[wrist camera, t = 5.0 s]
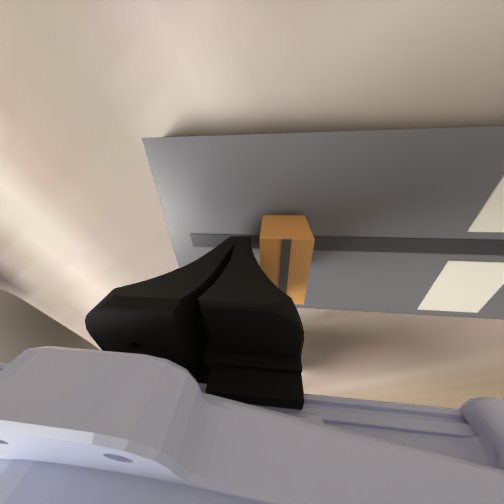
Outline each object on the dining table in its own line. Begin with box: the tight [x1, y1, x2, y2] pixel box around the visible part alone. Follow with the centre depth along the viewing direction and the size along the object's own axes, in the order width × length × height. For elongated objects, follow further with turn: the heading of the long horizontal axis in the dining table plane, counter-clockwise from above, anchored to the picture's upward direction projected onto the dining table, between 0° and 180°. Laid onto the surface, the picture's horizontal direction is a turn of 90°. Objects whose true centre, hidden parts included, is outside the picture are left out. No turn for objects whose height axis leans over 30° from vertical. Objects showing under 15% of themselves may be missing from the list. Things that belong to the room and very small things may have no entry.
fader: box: [260, 215, 315, 305], centre depth 10 cm, size 4×2×3 cm, turn 2°
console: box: [142, 126, 504, 319], centre depth 12 cm, size 12×26×2 cm, turn 92°
